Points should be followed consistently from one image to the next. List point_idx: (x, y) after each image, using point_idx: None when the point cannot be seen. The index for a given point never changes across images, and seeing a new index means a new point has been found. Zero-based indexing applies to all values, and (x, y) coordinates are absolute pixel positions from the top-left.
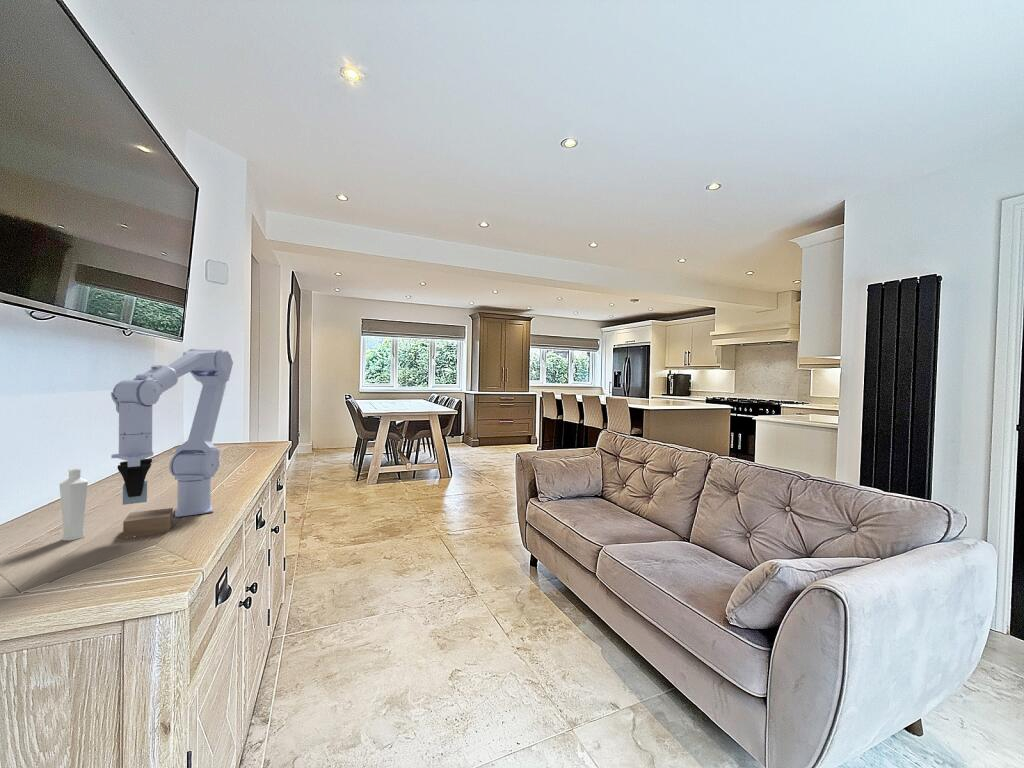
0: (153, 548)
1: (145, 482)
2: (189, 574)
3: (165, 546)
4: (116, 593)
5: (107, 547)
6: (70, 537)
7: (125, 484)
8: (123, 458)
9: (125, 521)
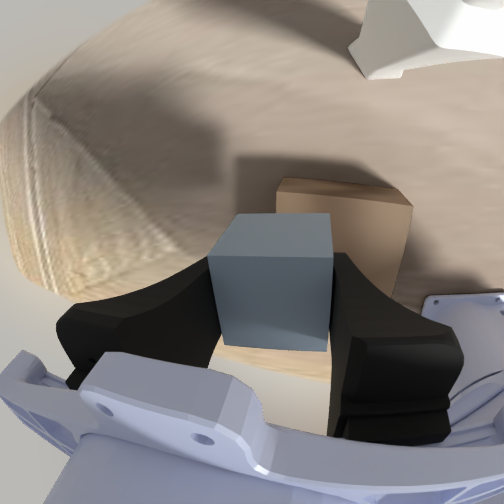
0: (154, 247)
1: (278, 344)
2: (44, 283)
3: (158, 267)
4: (13, 215)
5: (209, 150)
6: (351, 46)
7: (171, 276)
8: (40, 393)
9: (276, 197)
